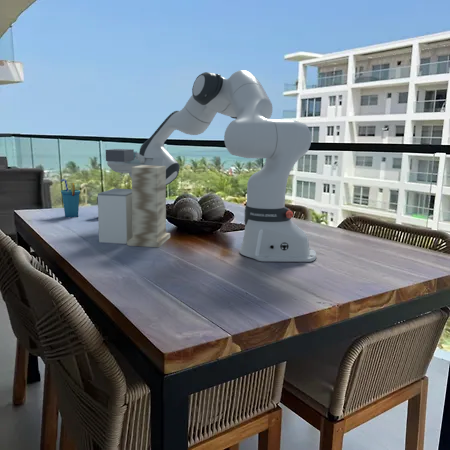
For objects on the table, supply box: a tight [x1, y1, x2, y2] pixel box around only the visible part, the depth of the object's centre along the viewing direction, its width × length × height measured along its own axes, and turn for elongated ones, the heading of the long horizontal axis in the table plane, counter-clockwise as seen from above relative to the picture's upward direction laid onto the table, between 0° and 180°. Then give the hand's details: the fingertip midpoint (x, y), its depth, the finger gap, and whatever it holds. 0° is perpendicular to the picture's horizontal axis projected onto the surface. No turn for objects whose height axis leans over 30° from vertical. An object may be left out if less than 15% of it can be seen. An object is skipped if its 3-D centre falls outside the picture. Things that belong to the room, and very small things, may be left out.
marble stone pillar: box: [126, 165, 171, 248], centre depth 144 cm, size 10×14×24 cm
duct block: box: [97, 188, 133, 245], centre depth 148 cm, size 9×14×16 cm, turn 172°
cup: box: [60, 178, 81, 218], centre depth 184 cm, size 14×8×15 cm, turn 45°
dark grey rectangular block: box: [105, 148, 138, 162], centre depth 149 cm, size 6×18×4 cm, turn 172°
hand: (130, 154), depth 155 cm, fingers closed on dark grey rectangular block, 2 cm apart
